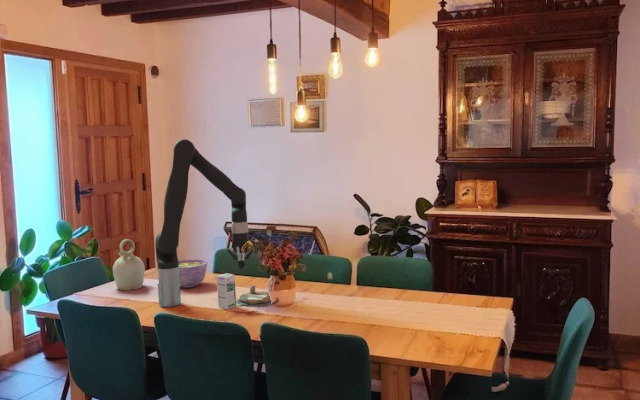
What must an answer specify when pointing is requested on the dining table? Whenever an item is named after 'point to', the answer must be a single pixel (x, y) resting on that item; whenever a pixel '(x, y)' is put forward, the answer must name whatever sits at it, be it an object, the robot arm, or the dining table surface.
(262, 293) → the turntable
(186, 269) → the bowl of food
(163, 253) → the robot arm
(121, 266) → the jug
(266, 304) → the base plate
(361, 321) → the dining table surface
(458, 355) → the dining table surface
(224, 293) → the syrup box
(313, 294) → the dining table surface
